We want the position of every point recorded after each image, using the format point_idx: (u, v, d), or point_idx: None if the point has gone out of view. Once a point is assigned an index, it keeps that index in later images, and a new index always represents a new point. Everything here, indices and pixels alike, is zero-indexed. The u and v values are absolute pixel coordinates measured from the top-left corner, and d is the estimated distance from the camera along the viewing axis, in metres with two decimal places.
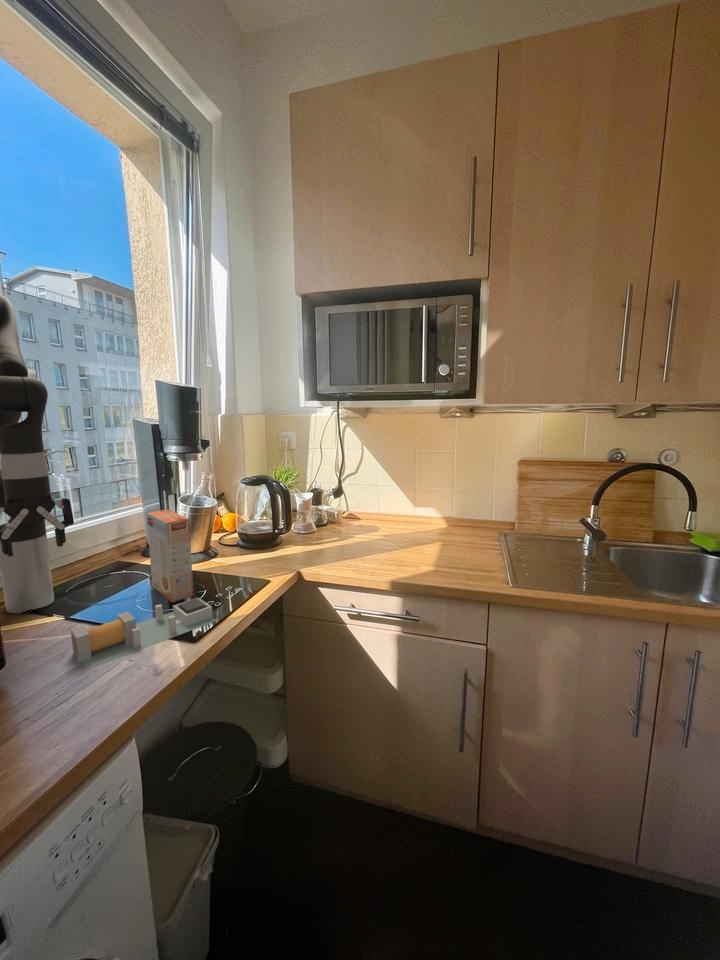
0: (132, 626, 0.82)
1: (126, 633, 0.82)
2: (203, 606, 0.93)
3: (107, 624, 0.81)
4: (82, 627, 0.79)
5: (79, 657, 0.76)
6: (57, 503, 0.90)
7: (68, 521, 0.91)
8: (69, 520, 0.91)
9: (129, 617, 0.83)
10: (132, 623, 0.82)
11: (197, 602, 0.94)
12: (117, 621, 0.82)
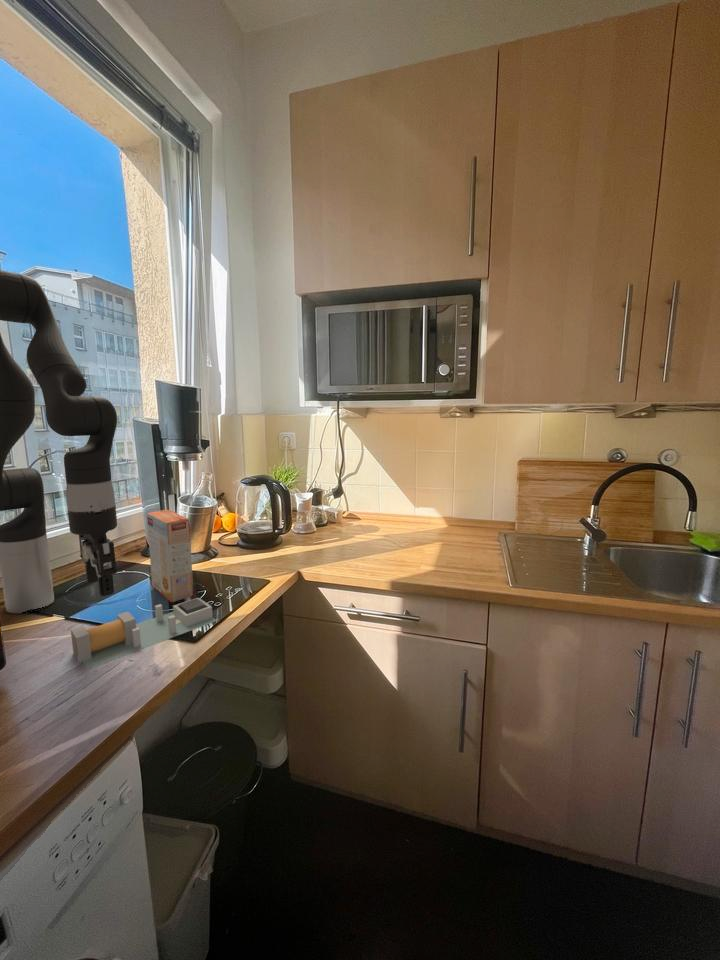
0: (132, 626, 0.82)
1: (126, 633, 0.82)
2: (203, 606, 0.93)
3: (107, 624, 0.81)
4: (82, 627, 0.79)
5: (79, 657, 0.76)
6: None
7: None
8: None
9: (129, 617, 0.83)
10: (132, 623, 0.82)
11: (197, 602, 0.94)
12: (117, 621, 0.82)
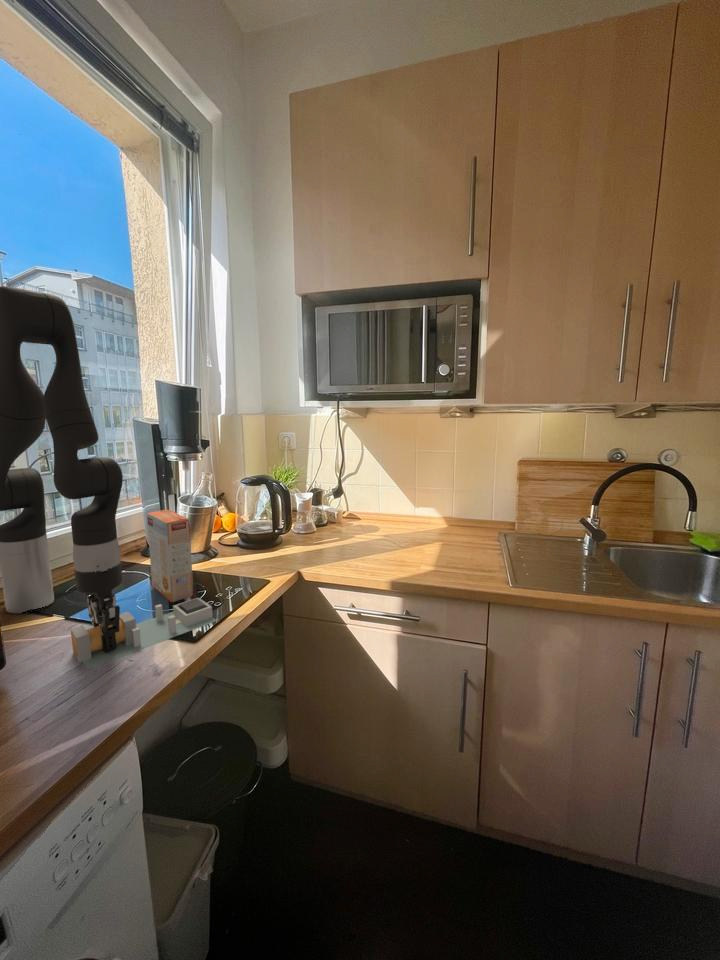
0: (132, 626, 0.82)
1: (126, 633, 0.82)
2: (203, 606, 0.93)
3: None
4: (82, 627, 0.79)
5: (79, 657, 0.76)
6: None
7: None
8: None
9: (129, 617, 0.83)
10: (132, 623, 0.82)
11: (197, 602, 0.94)
12: None
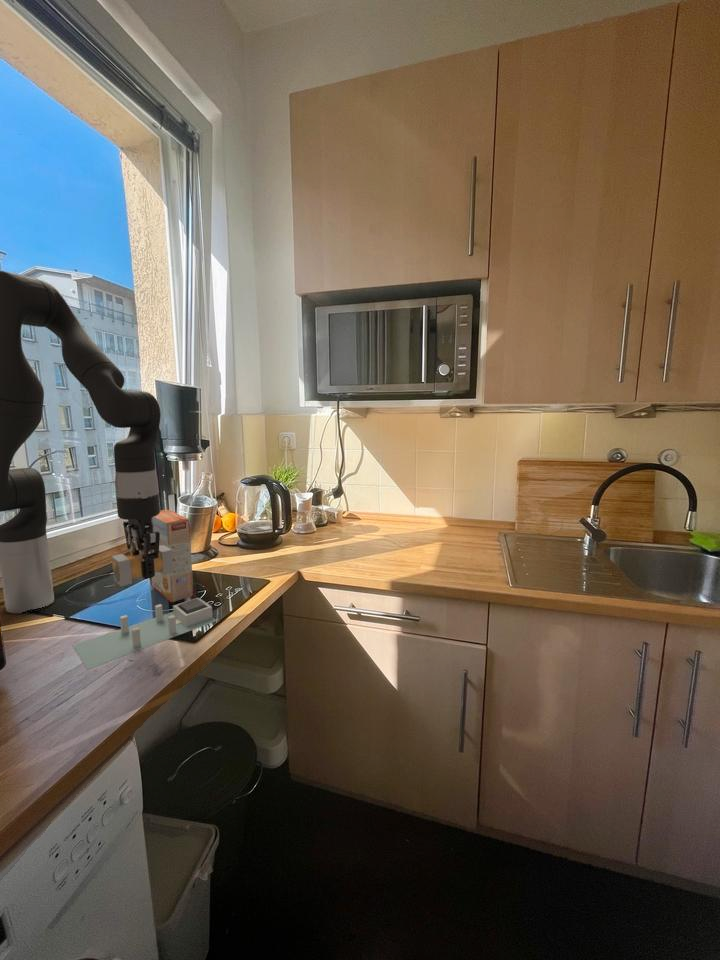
0: (168, 557, 0.86)
1: (163, 563, 0.85)
2: (203, 606, 0.93)
3: None
4: (122, 555, 0.83)
5: (121, 581, 0.80)
6: None
7: None
8: None
9: (165, 548, 0.87)
10: (169, 554, 0.86)
11: (197, 602, 0.94)
12: None
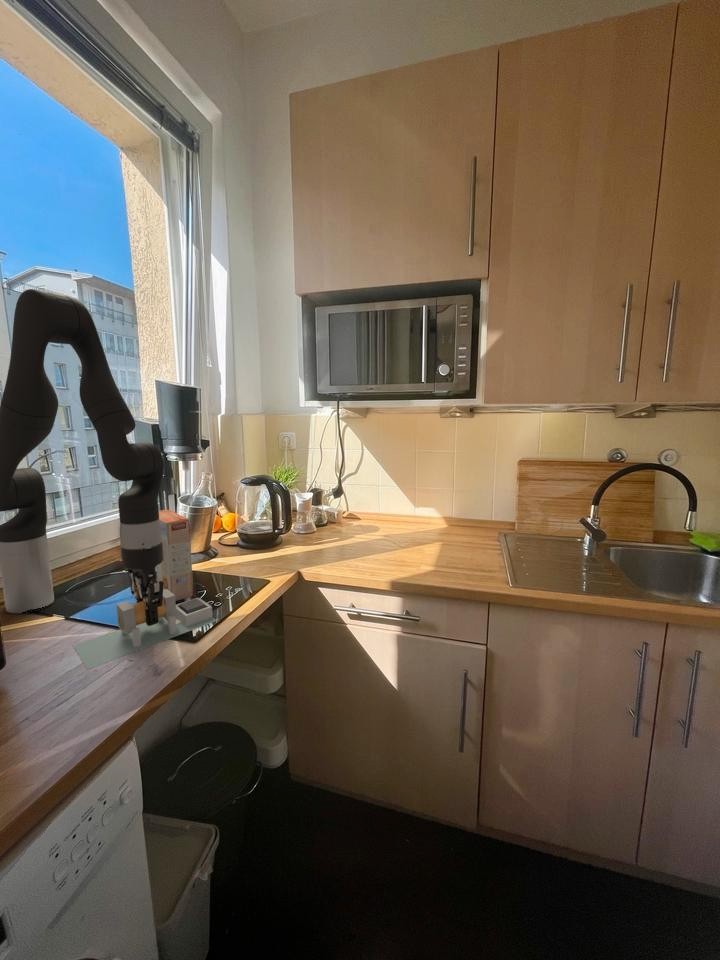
0: (172, 602, 0.88)
1: (167, 608, 0.87)
2: (203, 606, 0.93)
3: None
4: (127, 602, 0.84)
5: (125, 629, 0.82)
6: None
7: None
8: None
9: (169, 594, 0.88)
10: (172, 599, 0.88)
11: (197, 602, 0.94)
12: None
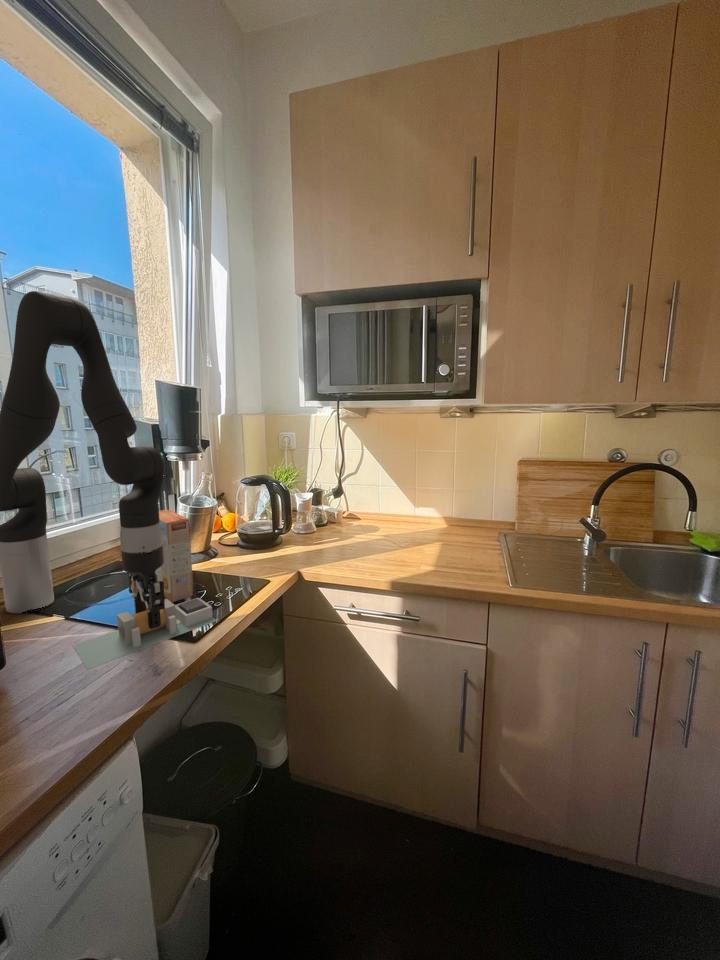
0: (172, 612, 0.88)
1: (167, 618, 0.88)
2: (203, 606, 0.93)
3: None
4: (127, 613, 0.85)
5: (126, 640, 0.82)
6: None
7: None
8: None
9: (169, 604, 0.89)
10: (172, 609, 0.88)
11: (197, 602, 0.94)
12: None
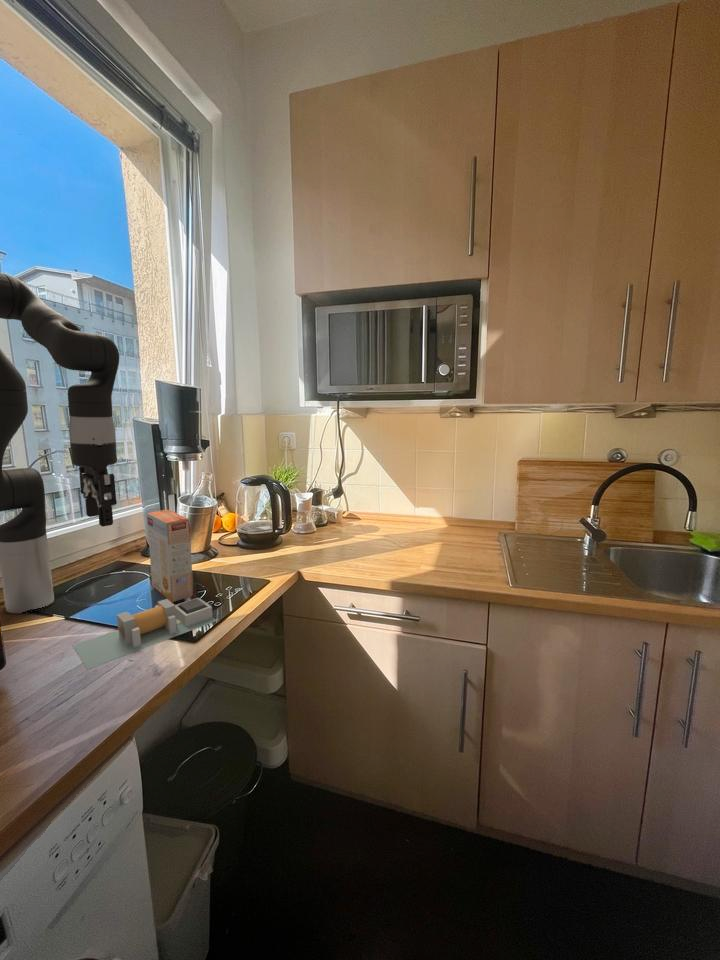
0: (172, 612, 0.88)
1: (167, 618, 0.88)
2: (203, 606, 0.93)
3: (149, 610, 0.87)
4: (127, 613, 0.85)
5: (126, 640, 0.82)
6: None
7: None
8: None
9: (169, 604, 0.89)
10: (172, 609, 0.88)
11: (197, 602, 0.94)
12: (158, 607, 0.88)
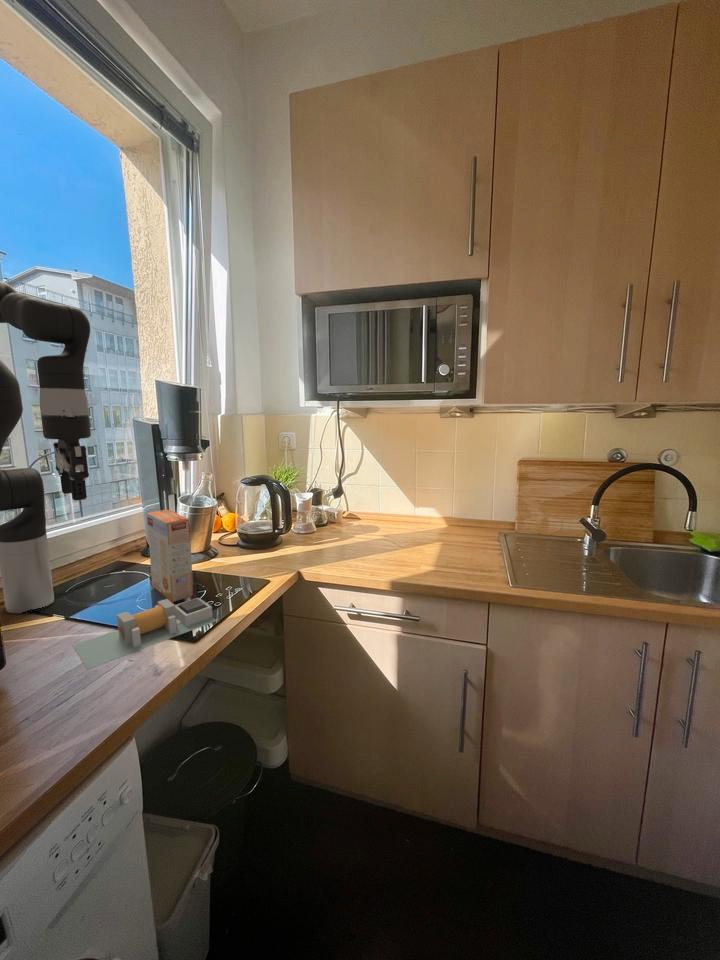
0: (172, 612, 0.88)
1: (167, 618, 0.88)
2: (203, 606, 0.93)
3: (149, 610, 0.87)
4: (127, 613, 0.85)
5: (126, 640, 0.82)
6: None
7: None
8: None
9: (169, 604, 0.89)
10: (172, 609, 0.88)
11: (197, 602, 0.94)
12: (158, 607, 0.88)
